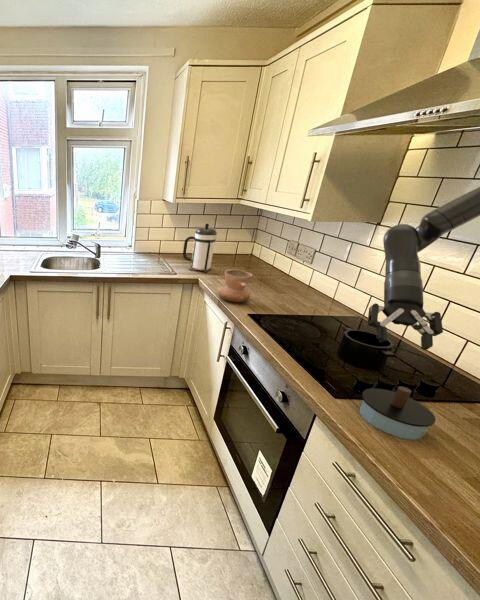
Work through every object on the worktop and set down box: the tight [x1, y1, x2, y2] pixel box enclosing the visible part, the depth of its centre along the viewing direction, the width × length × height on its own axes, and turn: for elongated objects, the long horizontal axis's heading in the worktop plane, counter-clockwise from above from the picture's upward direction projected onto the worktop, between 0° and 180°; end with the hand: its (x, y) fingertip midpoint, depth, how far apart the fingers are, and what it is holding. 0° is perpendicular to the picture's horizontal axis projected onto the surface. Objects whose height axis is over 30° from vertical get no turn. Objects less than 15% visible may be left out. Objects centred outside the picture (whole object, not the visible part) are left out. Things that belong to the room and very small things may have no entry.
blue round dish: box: [359, 399, 431, 441], centre depth 81 cm, size 12×12×4 cm
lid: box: [361, 385, 437, 427], centre depth 79 cm, size 14×14×6 cm
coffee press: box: [182, 223, 219, 274], centre depth 201 cm, size 17×16×30 cm
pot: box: [336, 327, 395, 371], centre depth 107 cm, size 12×18×8 cm
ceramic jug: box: [218, 268, 253, 304], centre depth 157 cm, size 18×14×14 cm
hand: (403, 345), depth 82 cm, fingers open, 8 cm apart
